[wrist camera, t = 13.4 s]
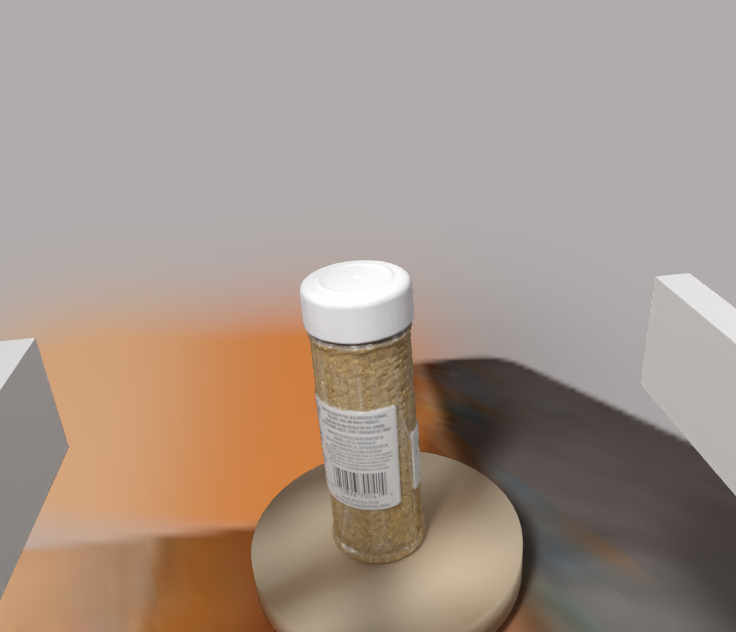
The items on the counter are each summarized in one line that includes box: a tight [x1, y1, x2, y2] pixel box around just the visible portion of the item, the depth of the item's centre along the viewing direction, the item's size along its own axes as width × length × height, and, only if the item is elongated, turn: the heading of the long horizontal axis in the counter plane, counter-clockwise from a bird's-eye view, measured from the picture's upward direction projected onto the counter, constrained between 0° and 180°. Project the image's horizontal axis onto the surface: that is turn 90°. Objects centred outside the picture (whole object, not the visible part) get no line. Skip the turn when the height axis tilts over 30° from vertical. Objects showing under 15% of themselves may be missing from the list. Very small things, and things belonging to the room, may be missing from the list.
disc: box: [251, 451, 523, 632], centre depth 35 cm, size 13×13×3 cm
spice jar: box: [300, 260, 426, 563], centre depth 31 cm, size 5×5×13 cm
